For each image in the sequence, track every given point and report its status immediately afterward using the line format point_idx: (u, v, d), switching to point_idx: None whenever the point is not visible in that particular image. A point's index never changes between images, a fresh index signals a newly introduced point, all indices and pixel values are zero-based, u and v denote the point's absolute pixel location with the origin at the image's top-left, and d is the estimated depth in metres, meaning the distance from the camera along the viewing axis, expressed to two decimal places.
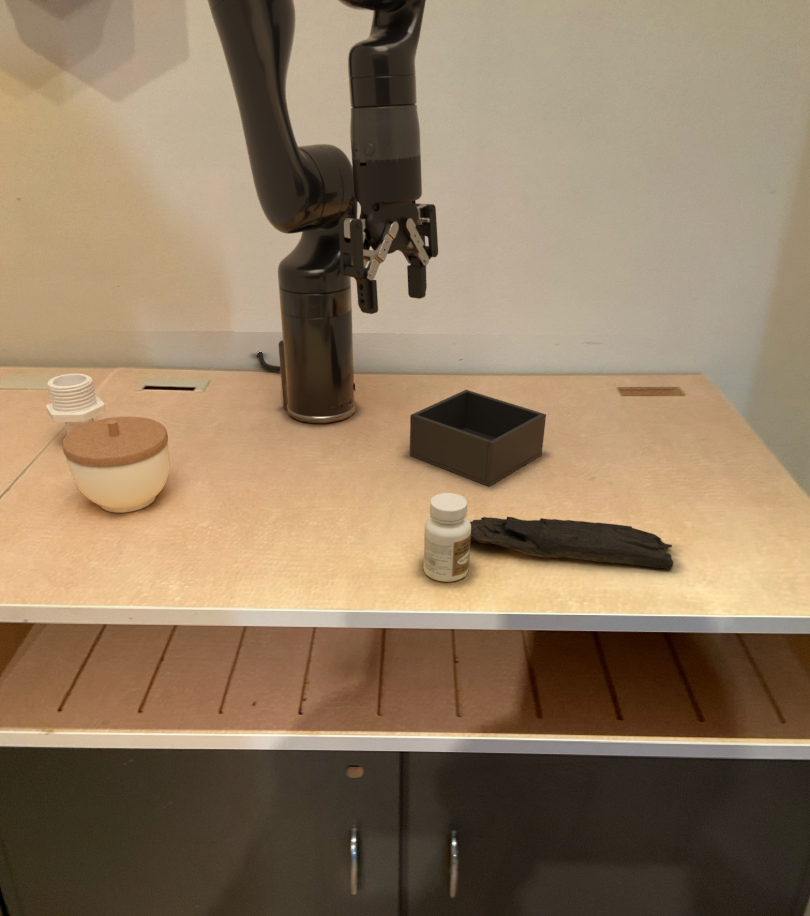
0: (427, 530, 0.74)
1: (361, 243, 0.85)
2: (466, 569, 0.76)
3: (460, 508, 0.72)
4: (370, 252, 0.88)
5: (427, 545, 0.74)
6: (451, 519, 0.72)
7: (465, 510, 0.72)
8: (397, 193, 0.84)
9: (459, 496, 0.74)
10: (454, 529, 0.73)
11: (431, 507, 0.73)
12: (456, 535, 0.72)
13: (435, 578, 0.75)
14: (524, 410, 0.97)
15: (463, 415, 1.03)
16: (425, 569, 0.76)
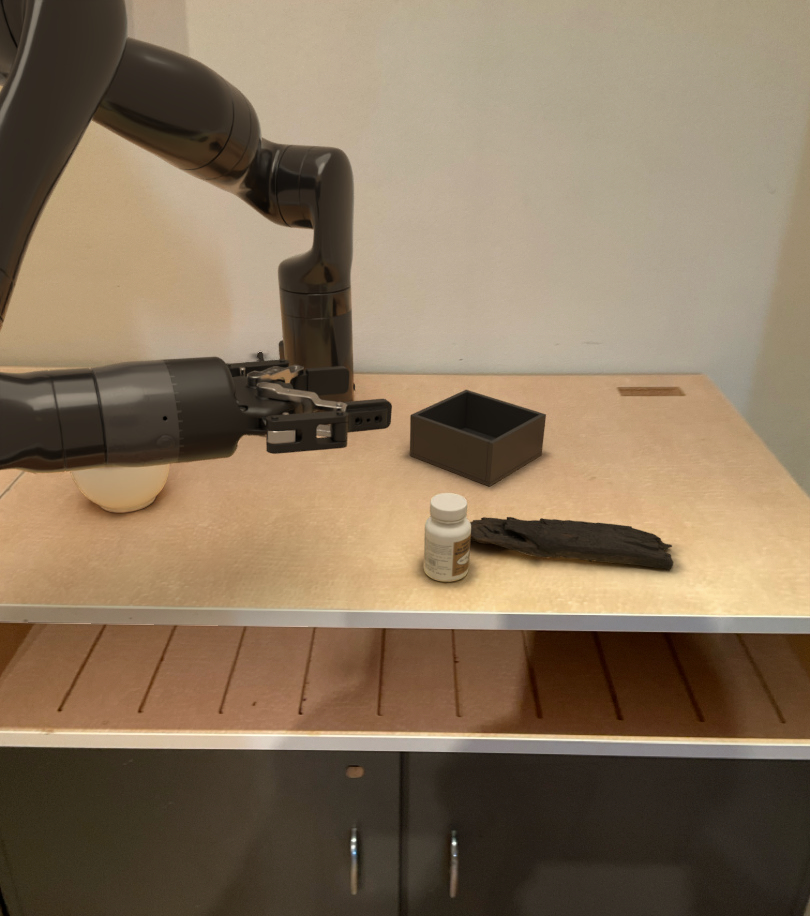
0: (427, 530, 0.74)
1: None
2: (466, 569, 0.76)
3: (460, 508, 0.72)
4: None
5: (427, 545, 0.74)
6: (451, 519, 0.72)
7: (465, 510, 0.72)
8: None
9: (459, 496, 0.74)
10: (454, 529, 0.73)
11: (431, 507, 0.73)
12: (456, 535, 0.72)
13: (435, 578, 0.75)
14: (524, 410, 0.97)
15: (463, 415, 1.03)
16: (425, 569, 0.76)
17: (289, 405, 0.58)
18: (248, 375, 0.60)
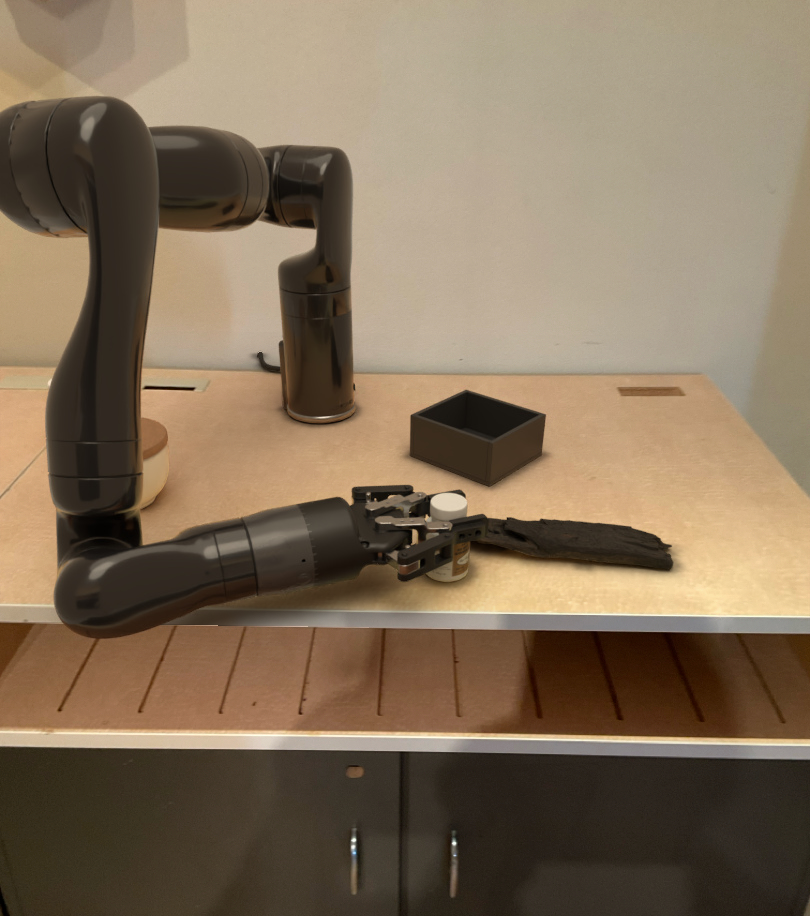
0: None
1: None
2: (466, 569, 0.76)
3: (461, 508, 0.72)
4: None
5: None
6: (451, 519, 0.72)
7: (465, 510, 0.72)
8: None
9: (459, 496, 0.74)
10: None
11: (431, 507, 0.73)
12: None
13: (435, 578, 0.75)
14: (524, 410, 0.97)
15: (463, 415, 1.03)
16: None
17: (402, 536, 0.69)
18: (366, 506, 0.71)
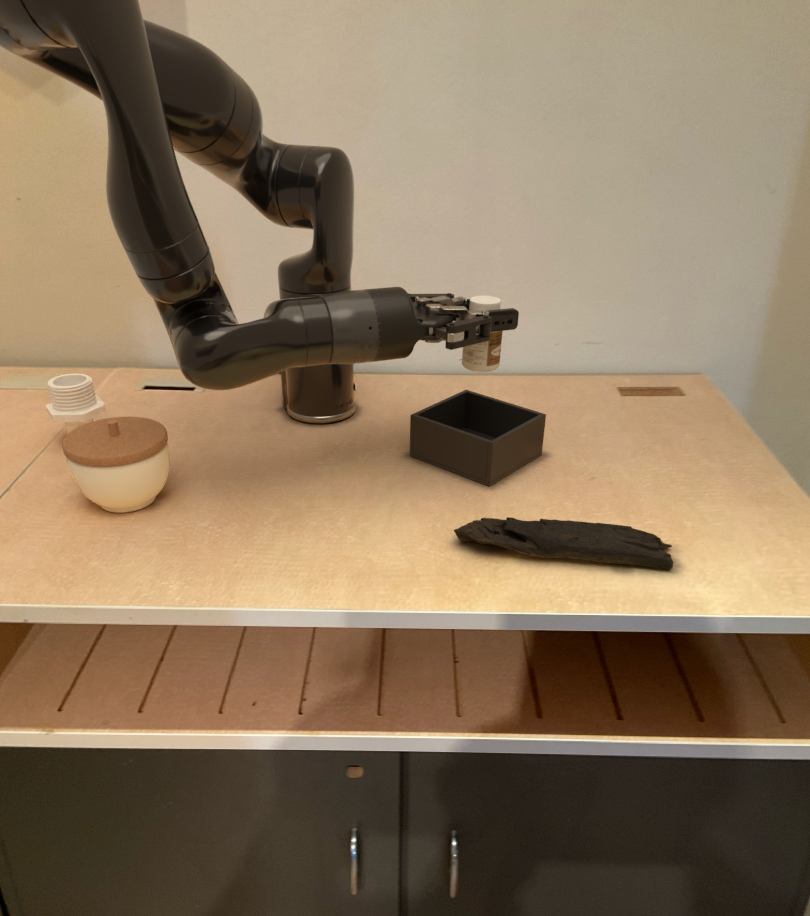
0: None
1: None
2: (498, 362, 0.91)
3: (495, 302, 0.87)
4: None
5: None
6: None
7: (499, 306, 0.88)
8: None
9: (493, 297, 0.89)
10: None
11: (471, 303, 0.88)
12: None
13: (472, 368, 0.90)
14: (524, 410, 0.97)
15: (463, 415, 1.03)
16: (463, 362, 0.91)
17: (449, 318, 0.84)
18: (417, 299, 0.87)
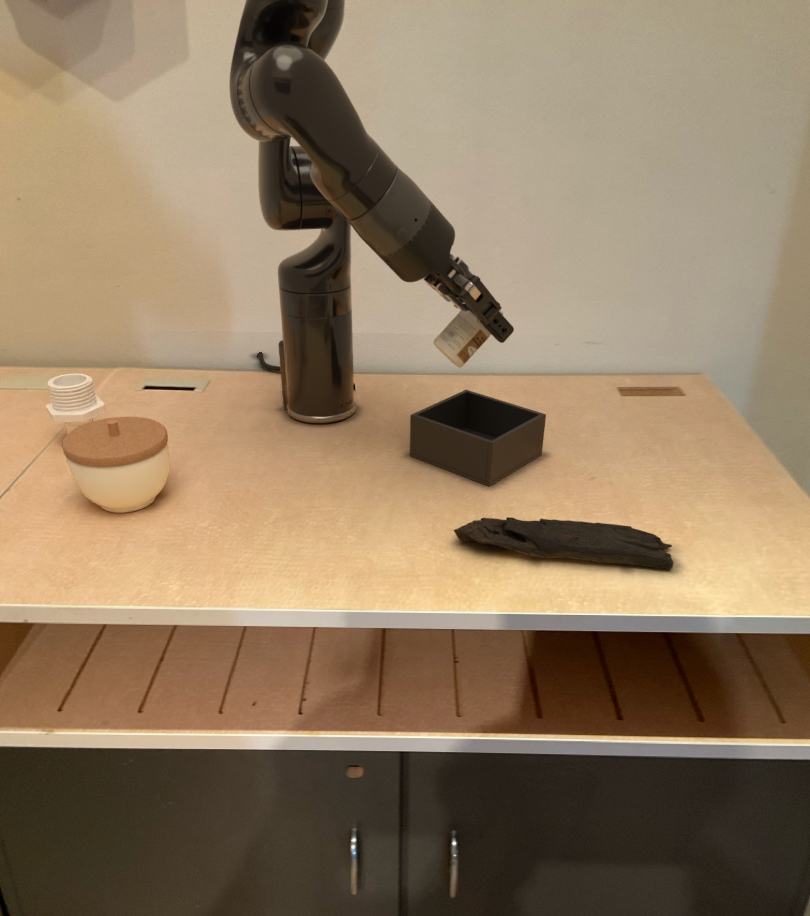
0: None
1: None
2: (464, 362, 0.90)
3: None
4: None
5: (456, 320, 0.88)
6: None
7: None
8: None
9: None
10: None
11: None
12: None
13: (443, 348, 0.88)
14: (524, 410, 0.97)
15: (463, 415, 1.03)
16: (438, 339, 0.89)
17: None
18: None
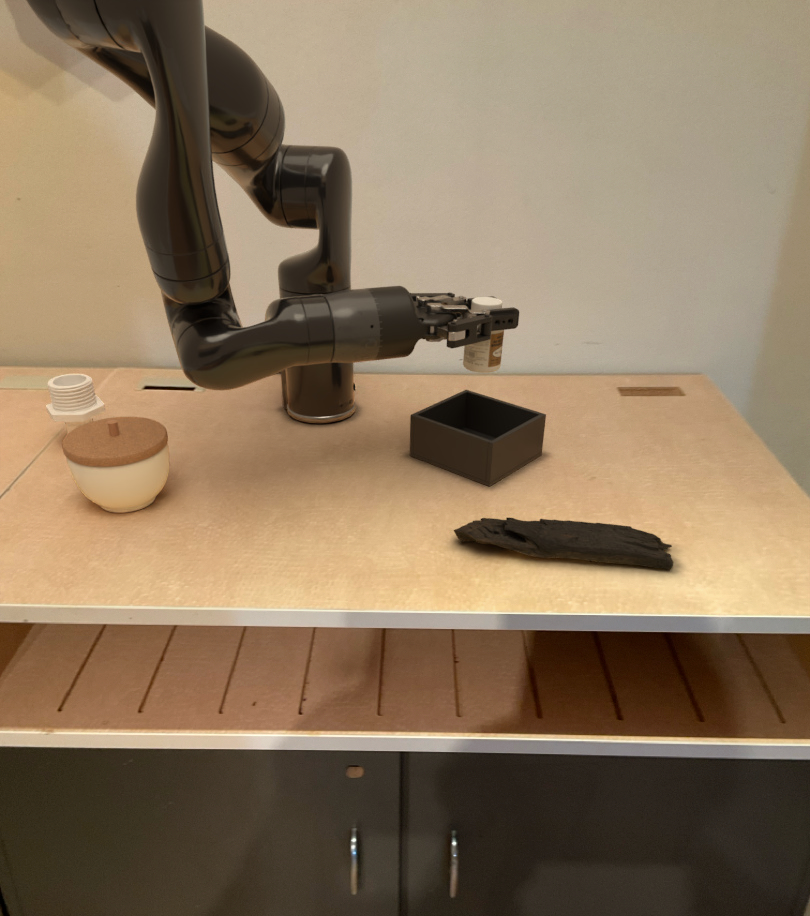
0: None
1: None
2: (499, 363, 0.91)
3: (497, 304, 0.87)
4: None
5: None
6: None
7: (501, 307, 0.88)
8: None
9: (495, 298, 0.89)
10: None
11: (473, 304, 0.88)
12: None
13: (474, 369, 0.91)
14: (524, 410, 0.97)
15: (463, 415, 1.03)
16: (465, 363, 0.91)
17: (450, 317, 0.85)
18: (418, 298, 0.87)
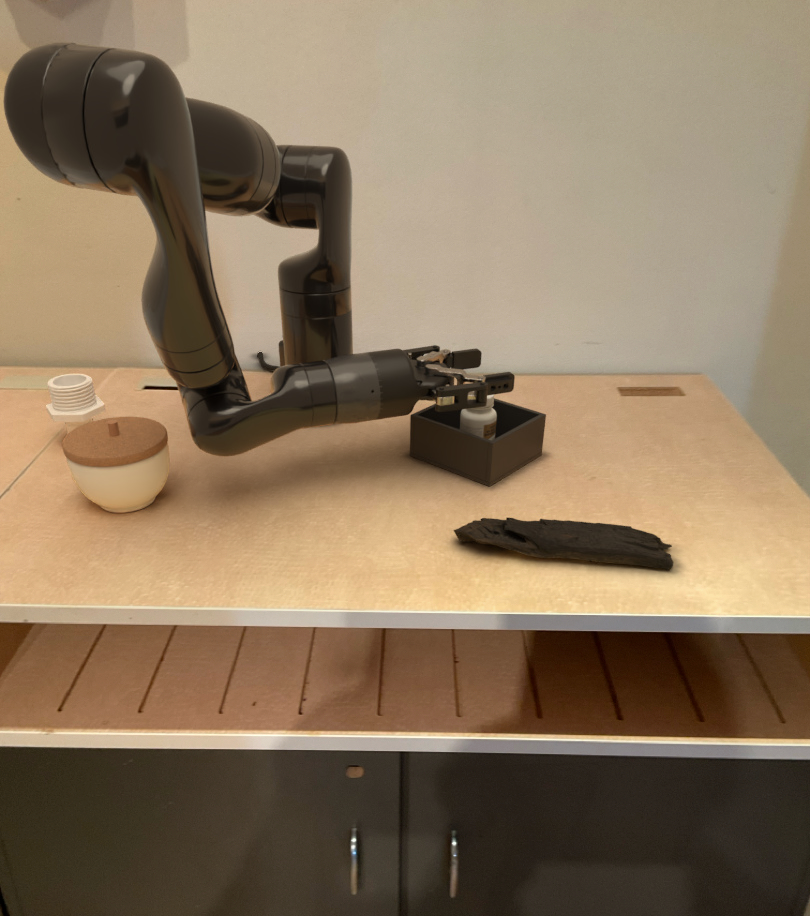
0: (462, 417, 0.95)
1: None
2: None
3: (489, 397, 0.93)
4: None
5: (462, 429, 0.95)
6: None
7: (492, 400, 0.94)
8: None
9: None
10: (484, 415, 0.94)
11: None
12: (485, 419, 0.94)
13: None
14: (524, 410, 0.97)
15: None
16: None
17: (447, 378, 0.88)
18: (417, 359, 0.90)
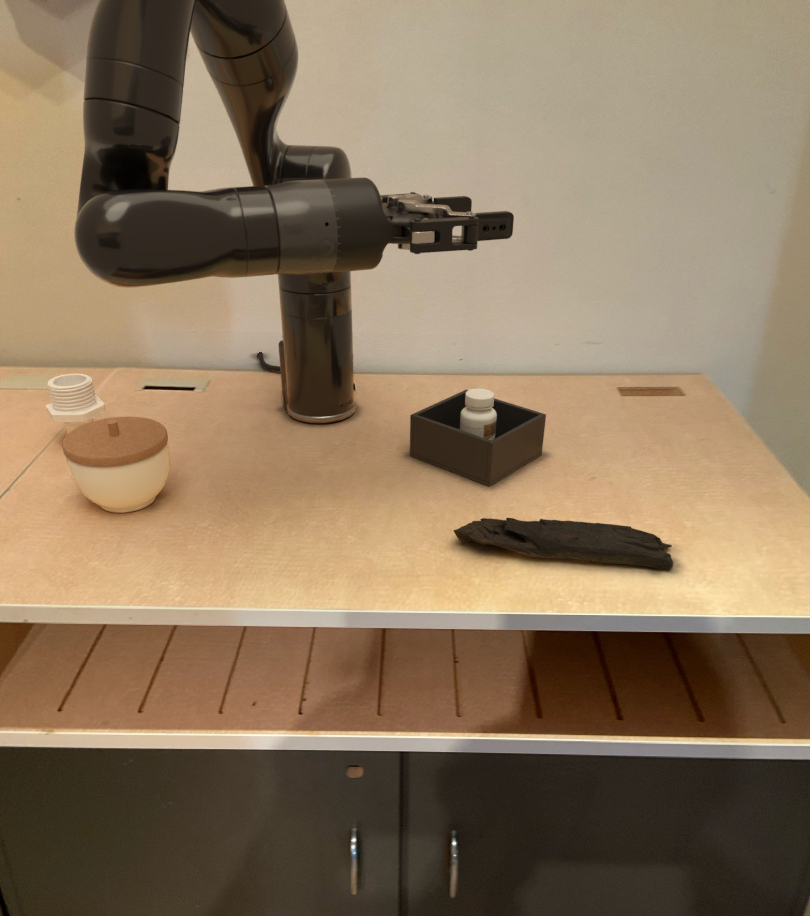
0: (462, 417, 0.95)
1: None
2: None
3: (489, 397, 0.93)
4: None
5: (462, 429, 0.95)
6: (482, 406, 0.93)
7: (492, 400, 0.94)
8: None
9: (487, 390, 0.95)
10: (484, 415, 0.94)
11: (466, 398, 0.94)
12: (485, 419, 0.94)
13: None
14: (524, 410, 0.97)
15: None
16: None
17: (426, 216, 0.68)
18: (389, 197, 0.70)
